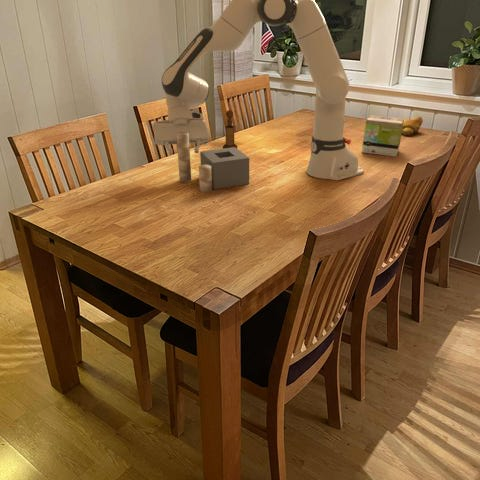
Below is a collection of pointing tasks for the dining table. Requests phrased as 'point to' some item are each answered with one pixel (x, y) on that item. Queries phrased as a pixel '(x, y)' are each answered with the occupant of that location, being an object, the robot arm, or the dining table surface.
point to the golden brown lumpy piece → (411, 125)
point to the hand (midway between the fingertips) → (183, 153)
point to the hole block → (226, 167)
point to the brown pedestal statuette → (229, 132)
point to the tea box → (382, 135)
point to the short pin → (205, 178)
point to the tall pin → (184, 157)
